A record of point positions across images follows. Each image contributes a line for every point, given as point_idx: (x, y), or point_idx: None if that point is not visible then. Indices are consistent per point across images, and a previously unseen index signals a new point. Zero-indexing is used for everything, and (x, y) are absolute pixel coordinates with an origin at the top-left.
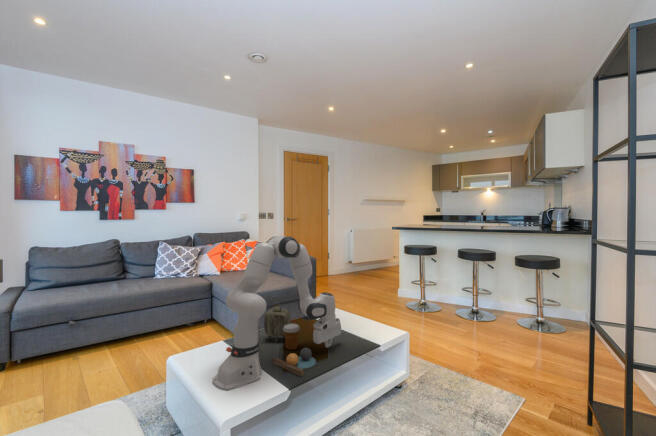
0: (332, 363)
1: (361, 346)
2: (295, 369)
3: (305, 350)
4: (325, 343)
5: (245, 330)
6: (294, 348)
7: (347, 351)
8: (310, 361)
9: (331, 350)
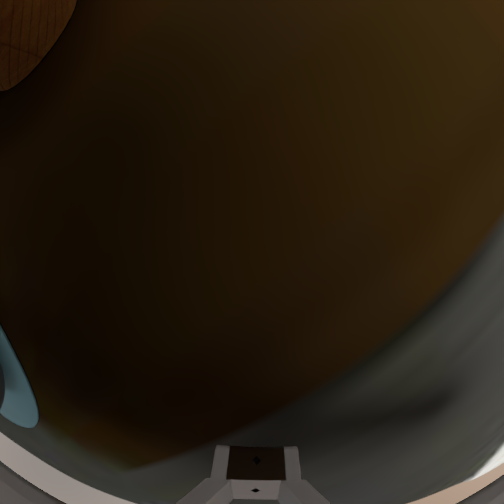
0: (117, 493)
1: (436, 479)
2: None
3: None
4: (200, 492)
5: None
6: (2, 90)
7: None
8: (9, 396)
9: None
